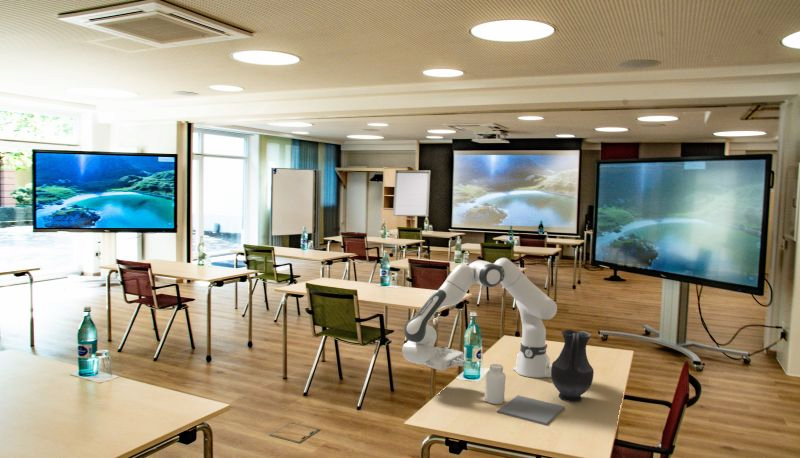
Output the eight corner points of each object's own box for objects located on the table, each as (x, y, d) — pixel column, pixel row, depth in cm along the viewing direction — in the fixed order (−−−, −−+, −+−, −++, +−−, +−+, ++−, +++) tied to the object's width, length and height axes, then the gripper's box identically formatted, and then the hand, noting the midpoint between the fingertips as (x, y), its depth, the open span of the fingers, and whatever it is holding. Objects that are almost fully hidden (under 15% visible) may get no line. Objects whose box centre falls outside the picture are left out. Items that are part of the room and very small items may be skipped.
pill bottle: (503, 405, 243) (505, 369, 242) (483, 403, 244) (486, 367, 243) (504, 399, 251) (506, 364, 250) (485, 396, 252) (487, 362, 251)
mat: (517, 397, 254) (517, 395, 254) (564, 408, 243) (564, 406, 243) (497, 412, 235) (497, 410, 235) (546, 425, 224) (546, 423, 224)
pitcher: (590, 394, 261) (595, 327, 259) (592, 411, 241) (597, 338, 239) (550, 389, 266) (554, 322, 264) (548, 404, 246) (553, 333, 244)
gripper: (423, 355, 253) (452, 362, 246) (446, 345, 270) (474, 351, 263) (423, 370, 254) (452, 376, 246) (446, 359, 271) (473, 365, 263)
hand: (463, 363), depth 255 cm, fingers closed
